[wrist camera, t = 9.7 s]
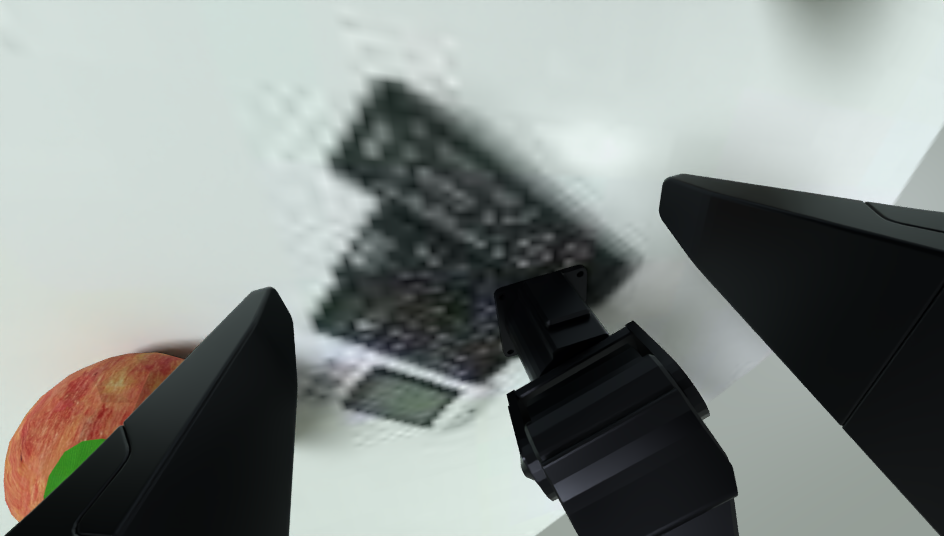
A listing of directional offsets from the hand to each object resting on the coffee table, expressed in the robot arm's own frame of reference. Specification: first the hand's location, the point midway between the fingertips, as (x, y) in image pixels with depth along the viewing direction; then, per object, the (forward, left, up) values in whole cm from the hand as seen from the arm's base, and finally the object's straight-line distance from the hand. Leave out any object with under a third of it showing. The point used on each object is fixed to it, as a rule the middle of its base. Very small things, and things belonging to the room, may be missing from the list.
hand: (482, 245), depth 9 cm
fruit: (-12, +18, -13) cm, 25 cm away
